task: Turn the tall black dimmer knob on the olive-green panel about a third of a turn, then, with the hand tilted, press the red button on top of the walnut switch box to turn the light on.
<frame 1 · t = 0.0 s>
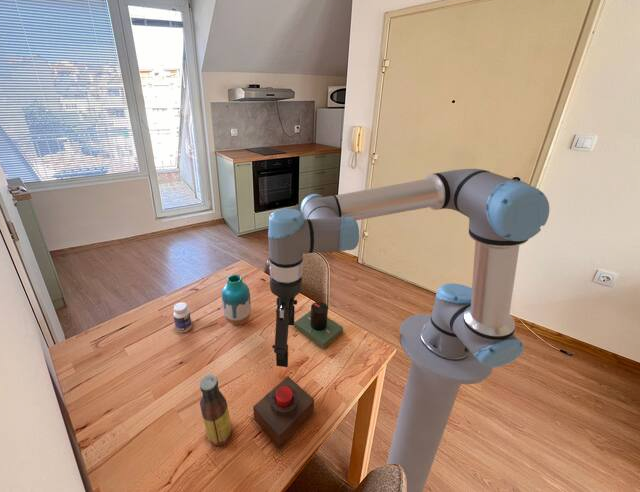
hand: (286, 343, 76), 21 cm above the table, tool pointing down, fingers open, 13 cm apart
switch box: (284, 416, 80), on the table
pill bottle: (184, 327, 110), on the table
light button: (283, 396, 76), point 8 cm above the table, slide at 0.1 cm
vase: (238, 319, 114), on the table
sauce bottle: (219, 434, 76), on the table
dimmer knob: (319, 315, 105), point 7 cm above the table, hinge at 0.0°
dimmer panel: (318, 329, 108), on the table
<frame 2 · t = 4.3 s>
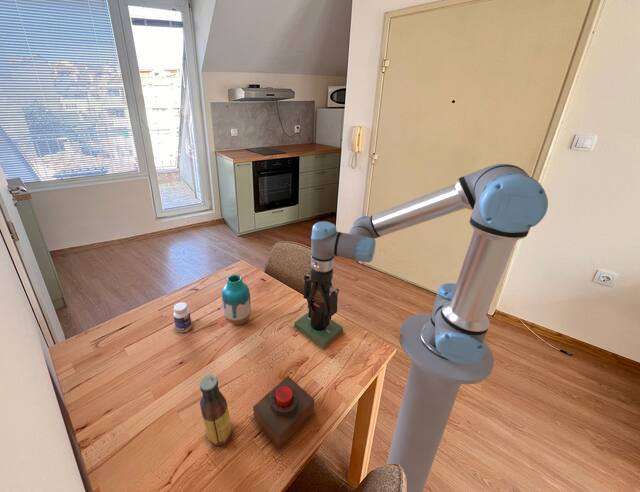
hand: (318, 320, 106), 4 cm above the table, tool pointing down, fingers closed on dimmer knob, 6 cm apart
dimmer knob: (319, 315, 105), point 7 cm above the table, hinge at 0.0°, touching gripper
everything else where it was.
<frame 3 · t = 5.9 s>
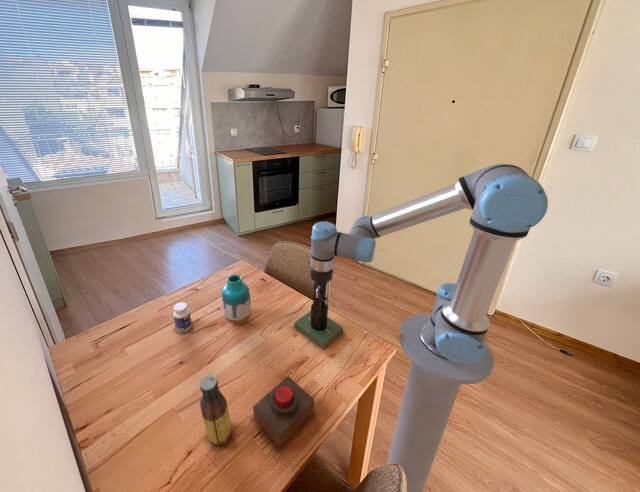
hand: (318, 320, 106), 4 cm above the table, tool pointing down, fingers closed on dimmer knob, 6 cm apart
dimmer knob: (319, 315, 105), point 7 cm above the table, hinge at 121.3°, touching gripper
everything else where it was.
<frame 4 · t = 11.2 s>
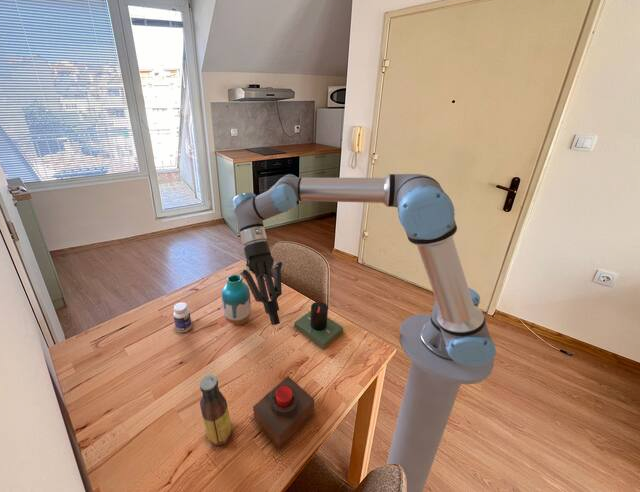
hand: (275, 324, 82), 21 cm above the table, tool tilted 40°, fingers closed
dimmer knob: (319, 315, 105), point 7 cm above the table, hinge at 121.1°
everything else where it was.
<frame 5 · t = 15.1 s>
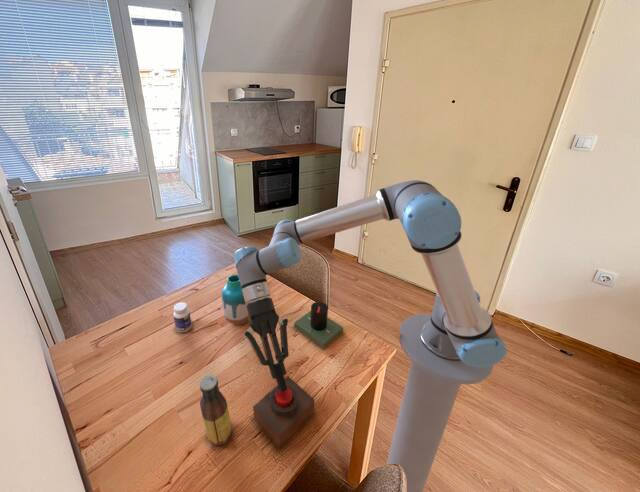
hand: (283, 390, 76), 10 cm above the table, tool tilted 45°, fingers closed
light button: (283, 397, 76), point 8 cm above the table, slide at -0.2 cm, touching gripper
everything else where it was.
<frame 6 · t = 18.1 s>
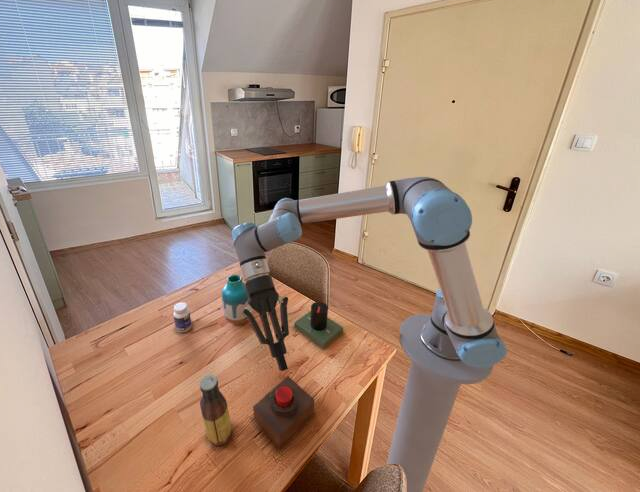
hand: (283, 369, 73), 18 cm above the table, tool tilted 45°, fingers closed
light button: (283, 396, 76), point 8 cm above the table, slide at 0.1 cm
everything else where it was.
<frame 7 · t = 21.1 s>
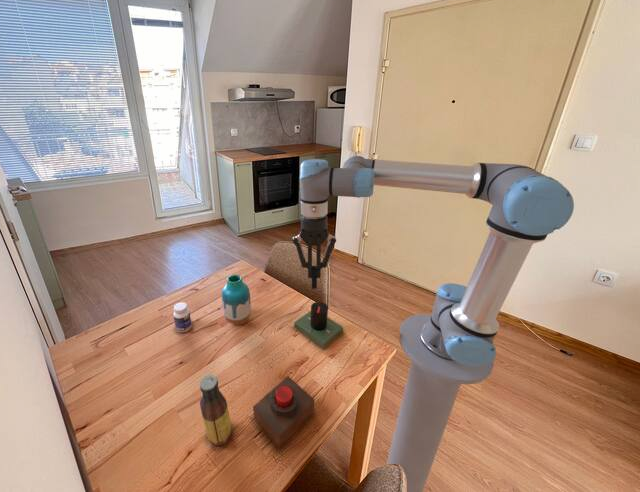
hand: (314, 286, 91), 25 cm above the table, tool pointing down, fingers closed
nothing on the table moved.
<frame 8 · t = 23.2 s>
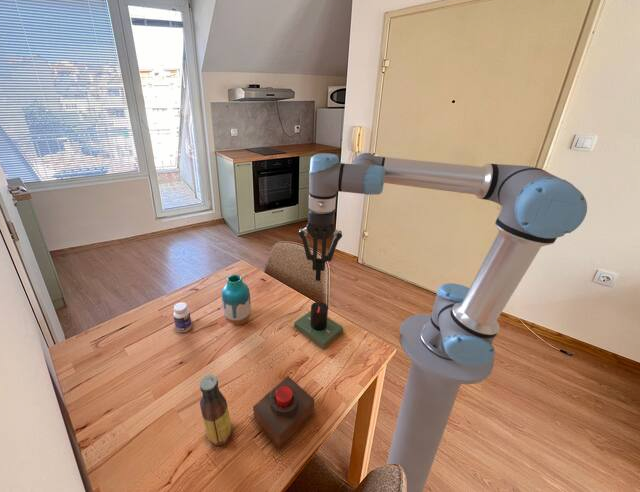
hand: (318, 278, 93), 26 cm above the table, tool pointing down, fingers closed
nothing on the table moved.
at the end: dimmer knob at +121° (first picture: +0°); light button pushed in 1.5 cm at the most during the clip, back to where it started at the end; light button slide at 0.1 cm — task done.
